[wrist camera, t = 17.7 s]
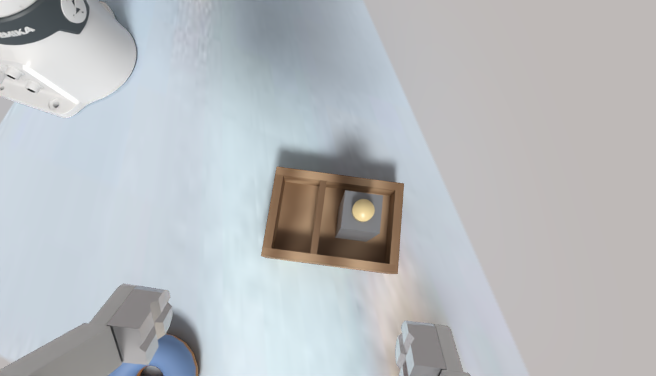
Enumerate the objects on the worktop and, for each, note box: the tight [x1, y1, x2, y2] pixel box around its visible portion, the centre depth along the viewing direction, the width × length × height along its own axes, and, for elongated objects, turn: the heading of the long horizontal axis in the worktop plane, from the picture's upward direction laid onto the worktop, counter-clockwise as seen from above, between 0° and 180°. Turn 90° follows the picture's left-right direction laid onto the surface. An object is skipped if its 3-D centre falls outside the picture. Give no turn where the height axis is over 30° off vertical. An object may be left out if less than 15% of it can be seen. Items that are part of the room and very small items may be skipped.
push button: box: [335, 190, 383, 242], centre depth 38 cm, size 4×4×10 cm
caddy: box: [261, 167, 404, 274], centre depth 42 cm, size 16×11×4 cm
